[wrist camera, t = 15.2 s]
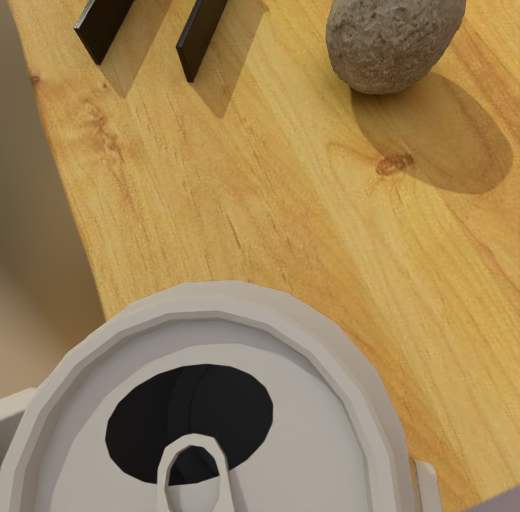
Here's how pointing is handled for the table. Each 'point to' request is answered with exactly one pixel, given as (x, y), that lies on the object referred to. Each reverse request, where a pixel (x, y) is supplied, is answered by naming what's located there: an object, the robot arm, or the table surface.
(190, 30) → the frame
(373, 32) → the decorative stone
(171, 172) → the table surface
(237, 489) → the can
